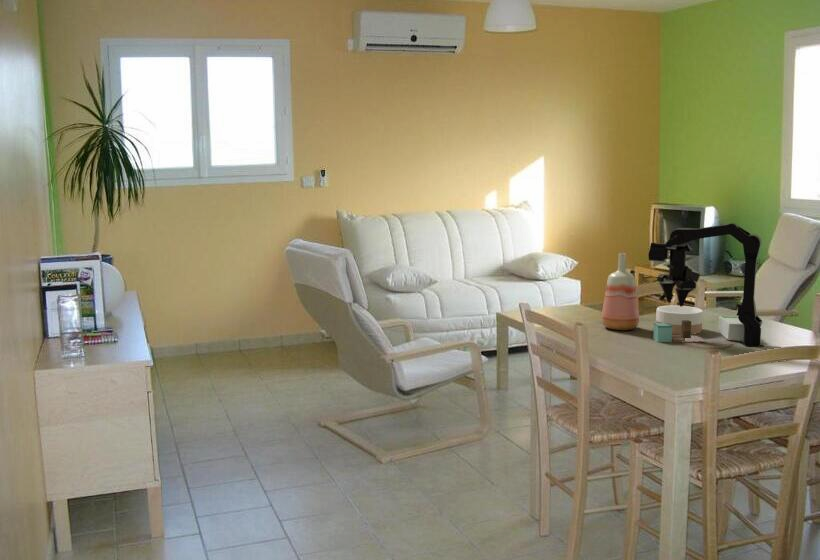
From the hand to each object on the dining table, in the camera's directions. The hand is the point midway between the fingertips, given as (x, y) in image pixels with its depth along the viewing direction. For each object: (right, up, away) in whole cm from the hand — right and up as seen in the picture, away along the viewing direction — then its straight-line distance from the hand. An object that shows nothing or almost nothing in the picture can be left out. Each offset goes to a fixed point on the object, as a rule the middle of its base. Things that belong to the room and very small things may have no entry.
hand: (675, 304), depth 328 cm
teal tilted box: (-5, -13, -2) cm, 15 cm away
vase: (-16, -10, +19) cm, 27 cm away
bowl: (+6, -11, +16) cm, 20 cm away
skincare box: (+24, -8, +11) cm, 28 cm away
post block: (+4, -13, -1) cm, 14 cm away
